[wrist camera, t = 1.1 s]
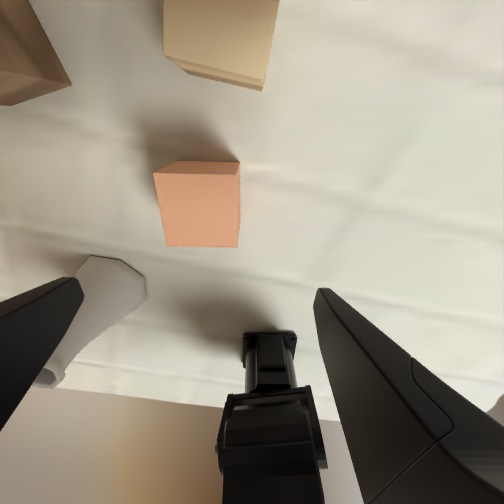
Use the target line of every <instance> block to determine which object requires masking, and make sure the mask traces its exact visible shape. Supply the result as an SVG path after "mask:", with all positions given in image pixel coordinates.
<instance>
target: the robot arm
mask: <svg viewBox="0 0 504 504" xmlns="http://www.w3.org/2000/svg"><path fill="white" fill-rule="evenodd" d="M83 301H84V292H83V290H82V287H81V285H80V283H79V280H78V279H77V278H75V277H61V278H59V279H56V280H54V281H51V282H49V283H47V284H44V285H42V286H39V287H37V288H34V289H32V290H29V291H27V292H24V293H22V294H20V295H17V296H15V297H12V298H10V299H7V300H5V301H2V302H0V431H1V430H2V428H3V427H4V425H5V424H6V422H7V421H8V419H9V418H10V416H11V415H12V414H13V412H14V411H15V409H16V407H17V406H18V405H19V403H20V402H21V400H22V399H23V397H24V396H25V394H26V393H27V391H28V390H29V388H30V387H31V385H32V384H33V382H34V381H35V379H36V378H37V376H38V375H39V373H40V372H41V370H42V369H43V367H44V366H45V364H46V363H47V362H48V360H49V359H50V357H51V356H52V354H53V353H54V351H55V350H56V348H57V347H58V345H59V344H60V342H61V341H62V339H63V337H64V336H65V334H66V332H67V330H68V329H69V327H70V325H71V323H72V321H73V319H74V317H75V316H76V314H77V312H78V310H79V308H80V306H81V304H82V303H83ZM313 310H314V316H315V322H316V328H317V334H318V340H319V346H320V350H321V354H322V357H323V361H324V364H325V368H326V371H327V375H328V378H329V382H330V385H331V389H332V392H333V396H334V400H335V403H336V407H337V410H338V414H339V417H340V421H341V424H342V428H343V431H344V435H345V438H346V442H347V445H348V449H349V452H350V456H351V459H352V463H353V466H354V470H355V473H356V477H357V480H358V484H359V487H360V491H361V494H362V498H363V502H364V504H504V426H502V425H501V424H500V423H498V422H497V421H496V420H494V419H493V418H491V417H490V416H489V415H487V414H486V413H485V412H483V411H482V410H481V409H479V408H478V407H477V406H475V405H474V404H472V403H471V402H470V401H468V400H467V399H466V398H464V397H463V396H462V395H460V394H459V393H458V392H456V391H455V390H454V389H452V388H451V387H450V386H448V385H447V384H446V383H444V382H443V381H442V380H441V379H439V378H438V377H437V376H436V375H434V374H433V373H432V372H431V371H429V370H428V369H427V368H426V367H424V366H423V365H422V364H421V363H420V362H418V361H417V360H416V359H415V358H413V357H411V355H410V354H408V353H407V352H406V351H405V350H404V349H402V348H401V347H400V346H399V345H398V344H396V343H395V342H394V341H393V340H392V339H390V338H389V337H388V336H387V335H385V334H384V333H383V332H382V331H381V330H379V329H378V328H377V327H376V326H375V325H373V324H372V323H371V322H370V321H369V320H367V319H366V318H365V317H364V316H362V315H361V314H360V313H359V312H358V311H356V310H355V309H354V308H353V307H352V306H350V305H349V304H348V303H347V302H346V301H344V300H343V299H342V298H341V297H339V296H338V295H337V294H336V293H335V292H333V291H332V290H331V289H329V288H318V290H317V292H316V296H315V300H314V305H313ZM296 342H297V336H296V334H293V333H244V334H243V367H244V368H246V374H245V393H242V394H228V396H227V401H226V402H225V407H224V411H223V416H222V420H221V424H220V429H219V433H218V438H217V443H216V446H215V452H216V453H217V455H218V462H219V469H220V473H221V475H222V476H223V499H222V504H325V501H324V494H323V489H322V484H321V478H320V472H319V469H328V466H327V460H326V454H325V449H324V443H323V438H322V434H321V429H320V425H319V420H318V416H317V412H316V408H315V403H314V399H313V395H312V391H311V386H310V385H306V386H305V387H297V382H296V376H295V370H294V364H293V359H294V353H295V348H296Z"/></svg>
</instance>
